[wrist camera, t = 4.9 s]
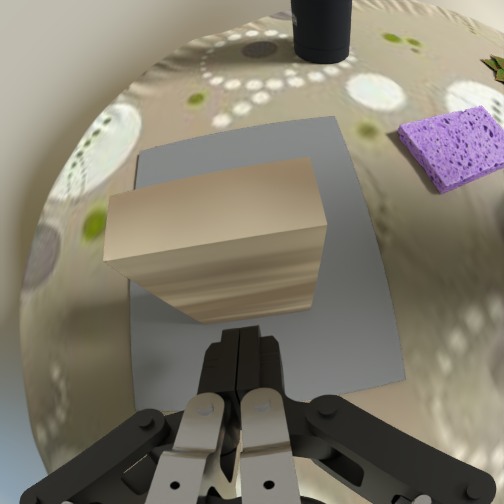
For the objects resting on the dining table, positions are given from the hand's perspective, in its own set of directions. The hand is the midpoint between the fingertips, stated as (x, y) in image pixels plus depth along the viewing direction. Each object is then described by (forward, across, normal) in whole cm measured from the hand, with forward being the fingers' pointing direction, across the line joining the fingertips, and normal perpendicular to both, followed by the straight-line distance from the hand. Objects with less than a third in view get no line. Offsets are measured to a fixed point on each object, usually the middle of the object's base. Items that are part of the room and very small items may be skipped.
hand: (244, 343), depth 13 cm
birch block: (+7, 0, +2) cm, 8 cm away
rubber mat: (+11, 0, 0) cm, 11 cm away
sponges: (+16, -21, -4) cm, 27 cm away
